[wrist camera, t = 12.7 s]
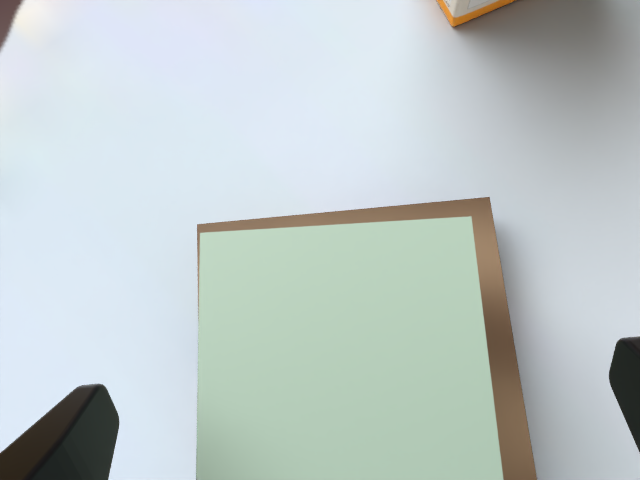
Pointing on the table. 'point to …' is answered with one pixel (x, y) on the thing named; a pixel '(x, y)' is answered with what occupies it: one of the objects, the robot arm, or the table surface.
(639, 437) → the robot arm
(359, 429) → the sage block
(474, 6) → the supplement box
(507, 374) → the walnut block
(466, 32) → the table surface
